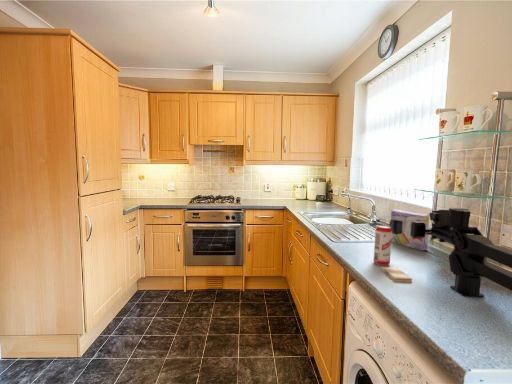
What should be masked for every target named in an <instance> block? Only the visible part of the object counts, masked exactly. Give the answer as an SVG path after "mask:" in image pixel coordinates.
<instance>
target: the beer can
mask: <svg viewBox="0 0 512 384" xmlns="http://www.w3.org/2000/svg"><path fill="white" fill-rule="evenodd" d="M376 226H377V227H376V228H375V235H374V246H373V247H374V248H373V262H374V263H375V264H376V265H378V266H382V267H386V266H387V267H388V265H390V263H391V253H392V251H391V249H392V242H391V240H392V230H391V227H390V226H389V225H385V224H378V225H376Z"/></svg>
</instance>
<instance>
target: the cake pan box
mask: <svg viewBox="0 0 512 384" xmlns="http://www.w3.org/2000/svg"><path fill="white" fill-rule="evenodd" d="M413 221H417V222H424V223H425V225H426V229H429V222H430V215H429V214H425V213H419V212H416V211H410V210H409V211H408V210H403V209H392V210H391V211H390V221H389V224H388V226H390V227H391V230H392V240H391V241H392V242H391V243H395V244H398V245H402V246H404V247H408V248H412V249H415V250H419V251H428V248H429V247H428V246H429V235H425V237H424V238H413V237H411V223H412V222H413Z"/></svg>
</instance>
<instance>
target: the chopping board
mask: <svg viewBox="0 0 512 384" xmlns="http://www.w3.org/2000/svg"><path fill="white" fill-rule="evenodd" d="M381 271H382V272H383V273H385V275H387V276H388V277H389V278H390V279H392V280H393V281H394V282H398V283H399V282H401V283H403V282H406V283H412V280H413V279H412V277H410V276H409V275H408V274H406V273H405V272H404V271H403V270H401V269H400V268H399V267H394V266H393V267H390V266H389V267H388V266H387V267H386V266H382V267H381Z"/></svg>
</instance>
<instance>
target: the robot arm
mask: <svg viewBox="0 0 512 384" xmlns="http://www.w3.org/2000/svg"><path fill="white" fill-rule="evenodd" d="M428 215H429V221H432V222H431V228H428V229H426V225H425V223H424V222H417V221H413V222H412V223H411V237H413V238H424V237H425V235H428V236H431V239H433V240H438V242H440V243H447V244H450V245H451V246H453V250H452V251H451V252H450V254H449V255H448V263H449V269H450V272H452V275H455V276H454V278H455V279H454V285H450V286H449V287H450V288H451V289H452V290H454V291H455V292H457V293H458V294H460V295H461V296H463V297H467V298H468V297H471V298H484V297H485V294H483V293H481V283H482V278H486V279H487V280H489V281H492V282H493V283H496V284H497V285H499V286H502V287H504V288H505V289H507V290H509V291H511V292H512V271H510V270H508V269H506V268H503V267H501V266H499V265H496V264H494V263H491V262H489V261H487V259H489V260H491V261H494V262H496V263H499V264H501V265H504V266H506V267H508V268H510V269H512V250H511V249H508V248H507V247H506V248H505V247H503V246H500V245H498V244H495V243H493V241H492V240H491V239H489V238H488V237H486V236H484V235H483V234H482V233H481V231H480V230H479V229H478V227H477V226H476V227H475V226H470V218H471V211H470V210H469V209H468V208H461V207H449V208H448V209H438V210H437V209H436V210H432V211H431V212H429V214H428ZM486 258H487V259H486Z"/></svg>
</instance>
